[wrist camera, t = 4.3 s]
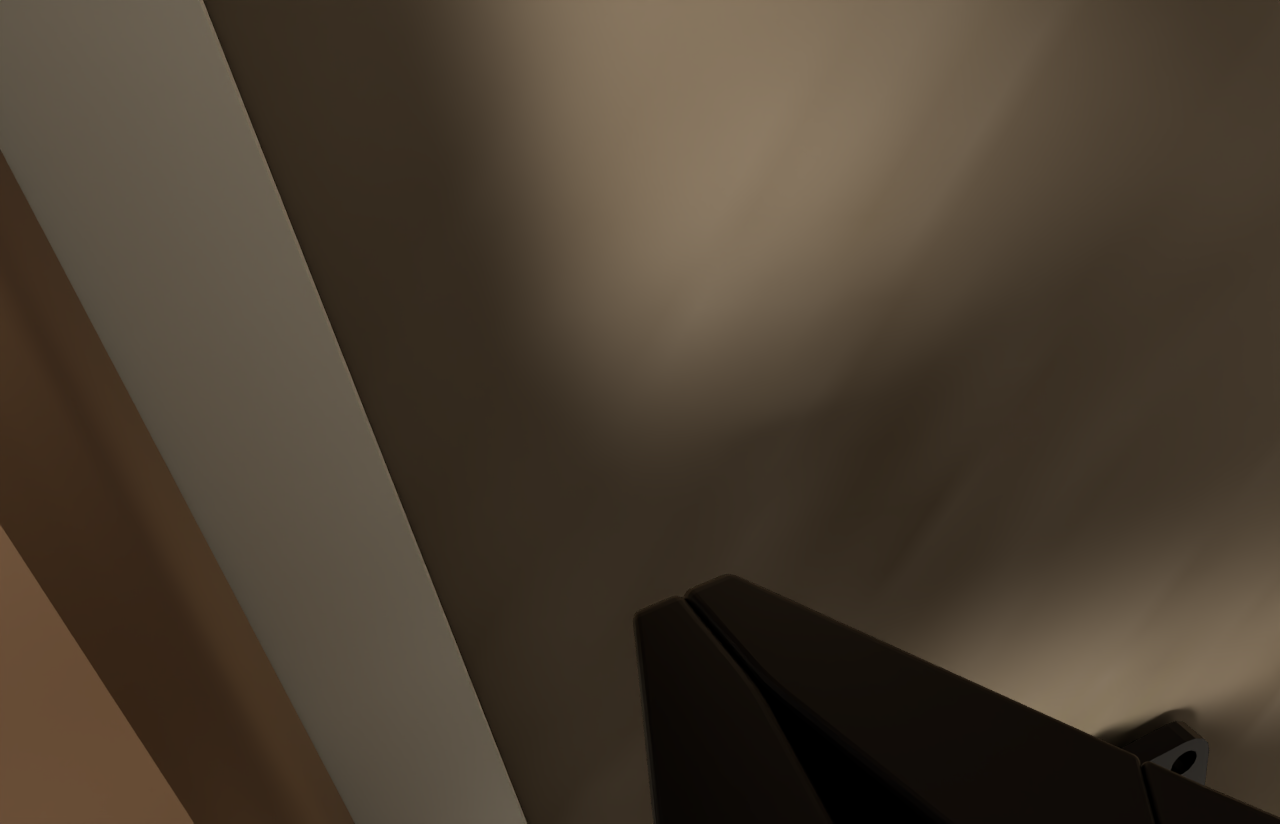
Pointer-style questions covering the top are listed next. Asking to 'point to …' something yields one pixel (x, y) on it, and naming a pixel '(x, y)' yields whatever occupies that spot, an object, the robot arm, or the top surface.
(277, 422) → the white peg board
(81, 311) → the hinged leg
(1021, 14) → the top surface
